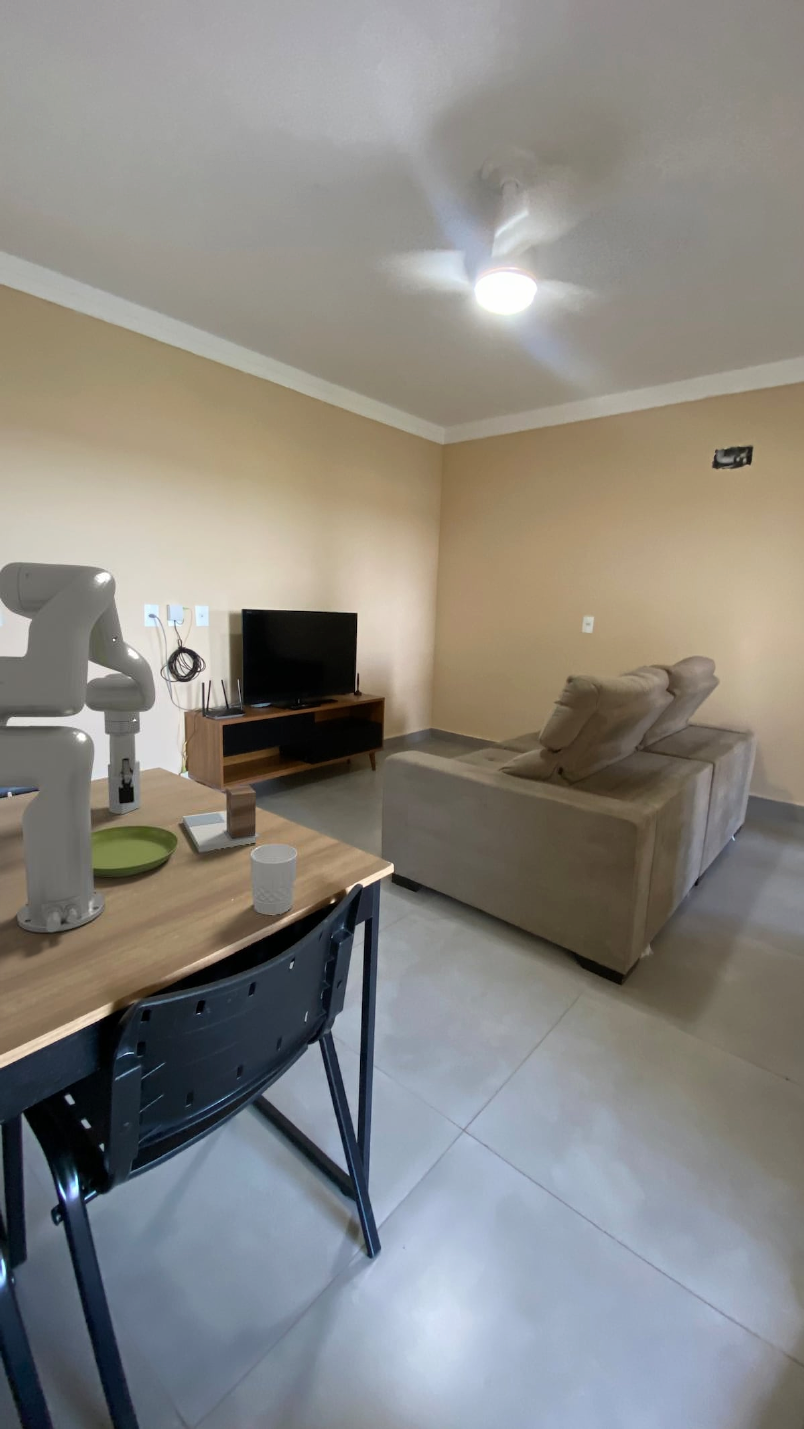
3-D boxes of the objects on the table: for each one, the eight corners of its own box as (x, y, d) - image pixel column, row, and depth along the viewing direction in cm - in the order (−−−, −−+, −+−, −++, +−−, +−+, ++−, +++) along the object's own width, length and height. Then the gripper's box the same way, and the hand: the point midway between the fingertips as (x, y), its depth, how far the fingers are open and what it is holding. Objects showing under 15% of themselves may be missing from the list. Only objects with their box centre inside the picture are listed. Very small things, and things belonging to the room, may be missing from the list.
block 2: (255, 835, 129) (255, 814, 128) (232, 839, 127) (232, 817, 126) (248, 827, 134) (249, 806, 133) (226, 830, 131) (226, 809, 130)
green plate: (60, 891, 105) (59, 875, 104) (68, 845, 123) (67, 831, 123) (184, 874, 114) (183, 858, 113) (174, 834, 132) (174, 820, 132)
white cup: (247, 898, 106) (248, 846, 104) (291, 892, 109) (292, 842, 107) (252, 920, 99) (253, 865, 97) (299, 914, 102) (301, 860, 100)
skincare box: (127, 804, 147) (126, 757, 145) (142, 807, 146) (140, 760, 144) (107, 812, 142) (106, 763, 139) (122, 815, 140) (120, 766, 138)
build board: (259, 843, 129) (259, 836, 129) (199, 852, 123) (199, 845, 123) (237, 815, 145) (237, 808, 144) (182, 822, 138) (182, 815, 138)
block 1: (255, 814, 128) (255, 792, 127) (232, 817, 126) (232, 794, 125) (248, 806, 133) (249, 785, 132) (226, 809, 130) (226, 787, 129)
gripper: (102, 719, 145) (104, 788, 149) (107, 735, 130) (110, 811, 134) (135, 717, 149) (137, 785, 152) (144, 733, 134) (146, 807, 138)
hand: (124, 797), depth 143 cm, fingers closed on skincare box, 6 cm apart
